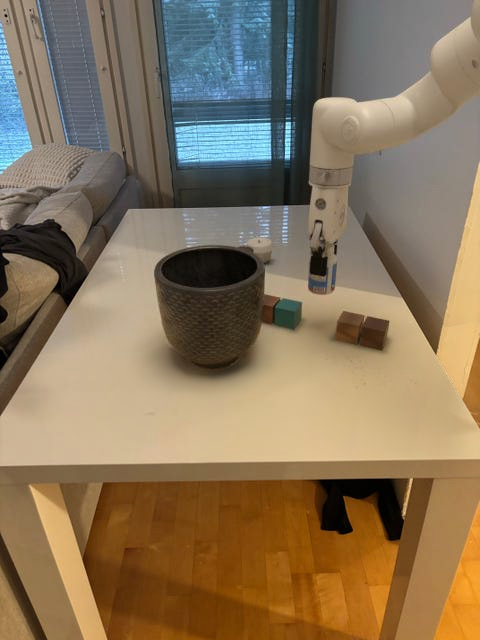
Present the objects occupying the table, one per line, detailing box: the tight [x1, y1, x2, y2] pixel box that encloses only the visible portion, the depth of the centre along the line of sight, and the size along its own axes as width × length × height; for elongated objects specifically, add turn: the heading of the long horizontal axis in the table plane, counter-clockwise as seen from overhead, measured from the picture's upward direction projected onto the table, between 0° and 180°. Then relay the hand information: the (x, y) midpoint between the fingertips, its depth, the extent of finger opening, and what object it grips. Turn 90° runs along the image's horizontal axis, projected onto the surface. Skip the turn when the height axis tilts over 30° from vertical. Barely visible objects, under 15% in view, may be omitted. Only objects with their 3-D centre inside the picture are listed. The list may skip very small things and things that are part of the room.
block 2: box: [274, 297, 303, 330], centre depth 101 cm, size 4×4×4 cm
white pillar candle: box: [245, 237, 274, 264], centre depth 128 cm, size 8×8×7 cm
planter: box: [153, 244, 266, 370], centre depth 87 cm, size 20×20×19 cm
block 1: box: [262, 293, 282, 325], centre depth 102 cm, size 4×4×4 cm
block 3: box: [335, 310, 366, 345], centre depth 95 cm, size 4×4×4 cm
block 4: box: [359, 315, 391, 351], centre depth 93 cm, size 4×4×4 cm
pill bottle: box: [307, 242, 338, 296], centre depth 92 cm, size 6×5×10 cm
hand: (322, 267), depth 92 cm, fingers closed on pill bottle, 5 cm apart
